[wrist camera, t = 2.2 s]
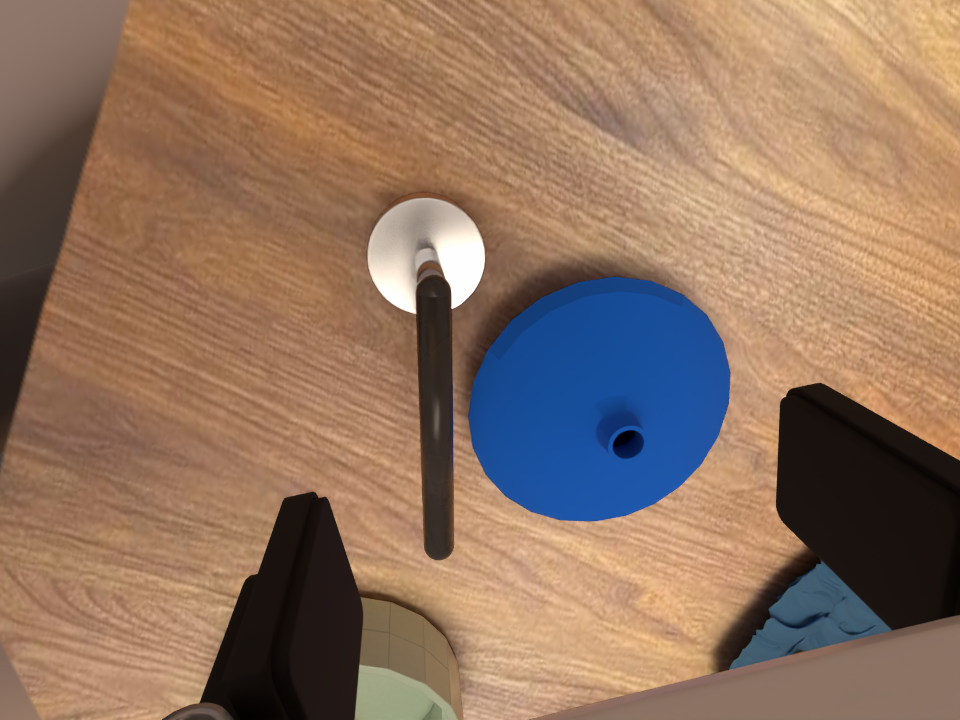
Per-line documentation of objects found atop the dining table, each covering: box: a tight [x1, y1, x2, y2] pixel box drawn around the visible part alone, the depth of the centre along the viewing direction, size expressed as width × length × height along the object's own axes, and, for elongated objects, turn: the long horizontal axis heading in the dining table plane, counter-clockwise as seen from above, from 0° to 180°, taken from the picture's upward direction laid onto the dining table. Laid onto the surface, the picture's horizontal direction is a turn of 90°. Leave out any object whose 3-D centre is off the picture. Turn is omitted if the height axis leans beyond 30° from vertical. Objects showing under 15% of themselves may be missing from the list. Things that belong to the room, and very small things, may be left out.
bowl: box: [355, 597, 463, 720], centre depth 39 cm, size 17×17×6 cm
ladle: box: [367, 192, 486, 560], centre depth 28 cm, size 16×6×11 cm, turn 179°
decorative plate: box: [729, 560, 892, 670], centre depth 45 cm, size 30×30×5 cm
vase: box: [468, 277, 730, 521], centre depth 32 cm, size 16×16×7 cm
